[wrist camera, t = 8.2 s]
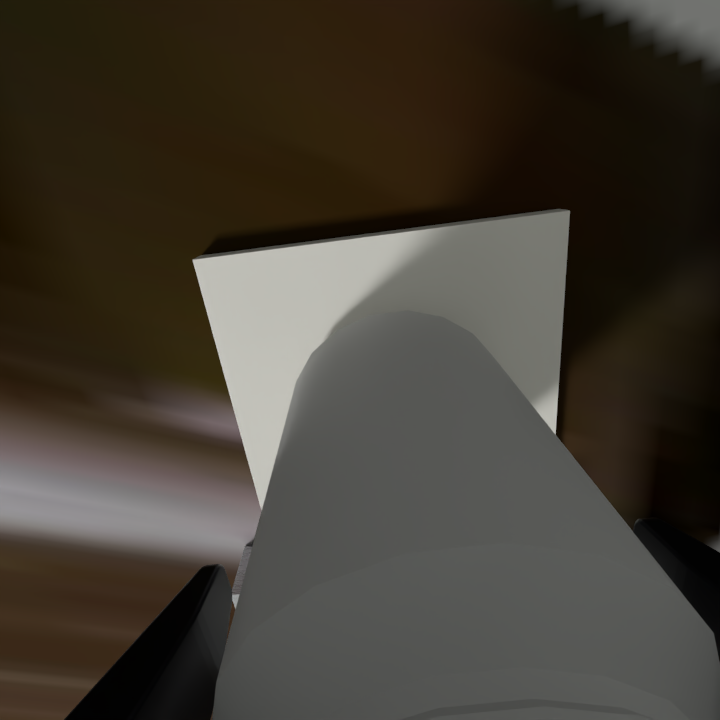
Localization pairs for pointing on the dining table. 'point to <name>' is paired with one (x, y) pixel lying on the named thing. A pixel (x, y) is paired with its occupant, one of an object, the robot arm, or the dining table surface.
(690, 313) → the dining table surface
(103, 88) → the dining table surface
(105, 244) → the dining table surface
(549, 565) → the can
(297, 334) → the tray
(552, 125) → the dining table surface
